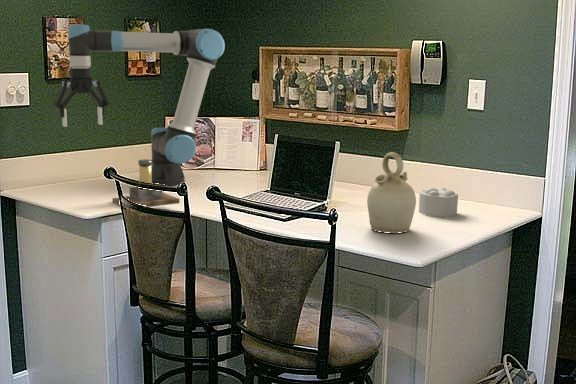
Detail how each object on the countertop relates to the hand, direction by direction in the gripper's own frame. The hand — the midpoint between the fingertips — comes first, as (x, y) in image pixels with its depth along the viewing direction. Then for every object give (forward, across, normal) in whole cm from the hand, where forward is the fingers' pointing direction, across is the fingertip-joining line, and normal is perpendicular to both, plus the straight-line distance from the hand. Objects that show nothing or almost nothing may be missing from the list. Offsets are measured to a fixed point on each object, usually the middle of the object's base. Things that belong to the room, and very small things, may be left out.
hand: (82, 125), depth 276 cm
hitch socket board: (+27, -14, +23) cm, 38 cm away
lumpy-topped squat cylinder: (+27, -92, +93) cm, 134 cm away
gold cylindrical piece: (+25, -14, +23) cm, 37 cm away
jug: (+27, -62, +101) cm, 122 cm away
